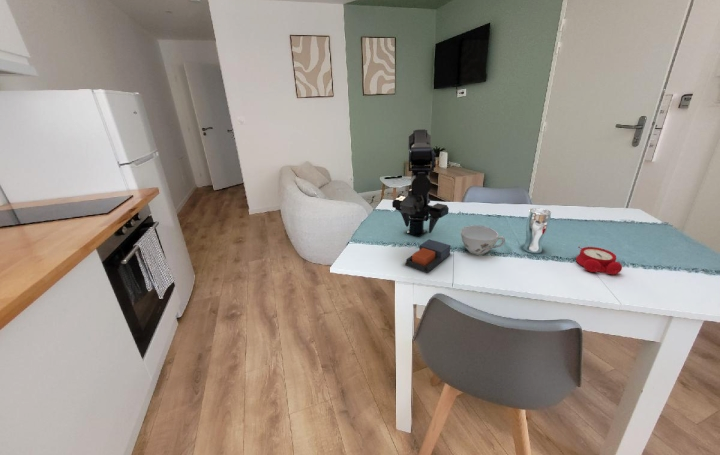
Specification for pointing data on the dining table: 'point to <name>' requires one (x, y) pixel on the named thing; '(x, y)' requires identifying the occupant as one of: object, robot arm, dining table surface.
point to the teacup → (480, 239)
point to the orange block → (423, 256)
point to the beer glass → (536, 229)
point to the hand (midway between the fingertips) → (418, 229)
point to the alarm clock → (598, 260)
